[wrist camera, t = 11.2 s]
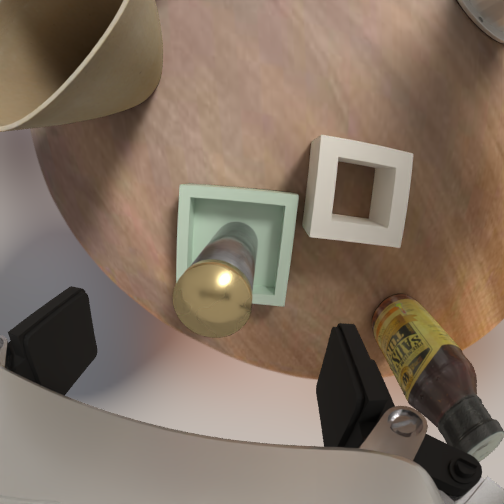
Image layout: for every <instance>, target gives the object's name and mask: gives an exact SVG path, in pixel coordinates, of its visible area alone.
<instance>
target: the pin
mask: <svg viewBox="0 0 504 504" xmlns="http://www.w3.org/2000/svg"><path fill="white" fill-rule="evenodd" d="M257 249H258V239H257V236H256V233H255V232H254V230H253V229H252V228H251V227H250V226H249V225H247V224H245V223H242V222H229V223H227V224H225V225H223V226H222V227H221V228H220V229H219V230H218V232H217V233H216V234H215V235H214V237H213V238H212V239H211V240H210V242H209V243H208V244H207V245H206V247H205V248H204V249H203V250H202V252H201V253H200V254H199V256H198V257H197V258H196V259H195V261H194V262H193V263H192V264H191V266H190V267H189V268H188V269H187V270H186V271H185V272H184V273H183V275H182V276H181V277H180V278H179V280H178V281H177V283H176V285H175V288H174V291H173V305H174V309H175V312H176V314H177V316H178V317H179V319H180V320H181V322H182V323H183V324H184V325H185V326H186V327H187V328H189V329H190V330H191V331H193V332H195V333H197V334H199V335H202V336H205V337H212V338H220V337H226V336H229V335H231V334H234V333H235V332H237V331H238V330H240V329H241V328H242V327H243V326H244V325H245V323H246V322H247V320H248V318H249V316H250V313H251V308H252V296H253V295H252V291H253V282H254V274H255V266H256V257H257Z"/></svg>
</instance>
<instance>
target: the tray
mask: <svg viewBox="0 0 504 504" xmlns="http://www.w3.org/2000/svg"><path fill="white" fill-rule="evenodd" d="M298 198H299V195H298V194H296V193H292V192H283V191H274V190H264V189H254V188H243V187H232V186H219V185H206V184H191V183H188V184H181V185H180V190H179V206H178V227H177V260H176V283H177V281H178V280H179V278H180V277H181V276H182V275H183V273H184V272H185V271H186V270H187V269H188V268H189V267H190V266H191V264H192V263H193V262H194V261H195V259H196V258H197V257H198V256H199V254H200V253H201V252H202V250H203V249H204V248H205V247H206V245H207V244H208V243H209V242H210V240H211V239H212V238H213V237H214V235H215V234H216V233H217V232H218V230H219V229H220V228H221V227H222V226H223V225H225V224H227V223H229V222H242V223H245V224H247V225H249V226H250V227H251V228H252V229H253V230H254V232H255V233H256V236H257V239H258V249H257V257H256V266H255V274H254V282H253V291H252V295H253V296H252V304H262V305H273V306H283V307H284V305H285V298H286V291H287V284H288V277H289V270H290V263H291V255H292V248H293V240H294V232H295V224H296V216H297V207H298Z"/></svg>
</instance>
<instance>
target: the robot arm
mask: <svg viewBox="0 0 504 504" xmlns="http://www.w3.org/2000/svg"><path fill="white" fill-rule="evenodd" d="M457 1H458V2H459V4H460V5H461V7H462V8H463V10H464V11H465V12H466V14H467V15H468V16H469V17H470V18H471V19H472V21H473V22H474V23H475V24H476V25H477V26H478V27H479V28H480V29H481V30H482V31H484V32H485V33H486V34H487V35H489V36H490V37H491V38H493V39H494V40H496V41H498V42H500V43H503V44H504V0H457ZM8 334H9V337H10V340H11V341H10V342H9V343H8V342H7V339H6V338H5V337H4V336H2V335H0V504H504V489H503V488H502V487H500V486H499V485H498V484H497V483H495V482H494V481H493V480H492V479H490V478H489V477H487V478H486V479H484V478H482V477H481V475H482V469H481V465H480V463H479V461H478V460H477V459H476V458H475V457H473V456H472V455H470V454H468V453H466V452H463V451H461V450H459V449H457V448H455V447H452V446H450V445H448V444H446V443H444V442H442V441H440V440H437V439H436V438H434V437H431V436H429V435H427V434H426V432H427V427H428V425H427V421H426V419H425V418H424V416H423V415H422V414H421V413H420V412H419V411H417V410H415V409H413V408H410V407H407V406H396V407H395V405H394V403H393V401H392V398H391V396H390V394H389V392H388V389H387V387H386V385H385V382H384V380H383V378H382V376H381V373H380V371H379V369H378V367H377V365H376V363H375V361H374V360H371V359H370V357H369V355H368V352H367V350H366V348H365V346H364V344H363V341H362V339H361V337H360V335H359V333H358V331H357V329H356V326H355V325H354V324H342V323H339V324H338V325H337V327H333V328H332V330H331V334H330V338H329V342H328V346H327V349H326V353H325V357H324V361H323V364H322V368H321V371H320V375H319V378H318V382H317V386H316V394H317V401H318V407H319V414H320V420H321V427H322V434H323V442H324V447H316V446H296V445H279V444H267V443H256V442H247V441H238V440H231V439H223V438H217V437H210V436H205V435H199V434H194V433H188V432H183V431H178V430H174V429H169V428H165V427H161V426H156V425H153V424H149V423H145V422H141V421H138V420H134V419H131V418H127V417H124V416H120V415H117V414H114V413H111V412H107V411H105V410H102V409H98V408H96V407H93V406H90V405H88V404H85V403H82V402H79V401H77V400H74V399H71V398H69V397H66V396H65V394H66V393H67V392H68V390H69V389H70V388H71V387H72V385H73V384H74V383H75V382H76V380H77V379H78V378H79V377H80V376H81V374H82V373H83V372H84V371H85V369H86V368H87V367H88V366H89V364H90V363H91V362H92V361H93V360H94V358H95V357H96V355H97V345H96V341H95V336H94V330H93V324H92V318H91V311H90V305H89V298H88V295H87V294H86V293H85V291H84V289H81V288H76V287H69V288H68V289H66V290H65V291H63V292H62V293H61V294H59V295H58V296H56V297H55V298H53V299H52V300H51V301H49V302H48V303H46V304H45V305H44V306H42V307H41V308H39V309H38V310H37V311H35V312H34V313H33V314H31V315H30V316H29V317H27V318H26V319H25V320H23V321H22V322H21V323H19V324H18V325H17V326H16V327H14V328H13V329H12V330H10V331H9V332H8Z"/></svg>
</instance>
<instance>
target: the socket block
mask: <svg viewBox="0 0 504 504" xmlns="http://www.w3.org/2000/svg"><path fill="white" fill-rule="evenodd" d="M338 161H339V162H345V163H351V164H357V165H363V166H368V167H373V168H375V174H374V183H373V191H372V199H371V206H370V213H369V219H368V218H361V217H354V216H347V215H339V214H332V209H333V201H334V193H335V184H336V176H337V166H338ZM412 164H413V153H409V152H405V151H401V150H397V149H392V148H388V147H384V146H379V145H374V144H370V143H365V142H360V141H354V140H349V139H344V138H338V137H332V136H326V135H320V136H319V137H317V138H316V139H314V140H313V141H311V151H310V161H309V171H308V180H307V189H306V198H305V206H304V215H303V223H302V226H303V228H304V229H305V231H306V232H307V234H308V235H309V237H314V238H322V239H331V240H340V241H348V242H357V243H365V244H373V245H381V246H389V247H397V248H400V247H401V241H402V236H403V231H404V225H405V219H406V212H407V206H408V199H409V191H410V183H411V174H412Z"/></svg>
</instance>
